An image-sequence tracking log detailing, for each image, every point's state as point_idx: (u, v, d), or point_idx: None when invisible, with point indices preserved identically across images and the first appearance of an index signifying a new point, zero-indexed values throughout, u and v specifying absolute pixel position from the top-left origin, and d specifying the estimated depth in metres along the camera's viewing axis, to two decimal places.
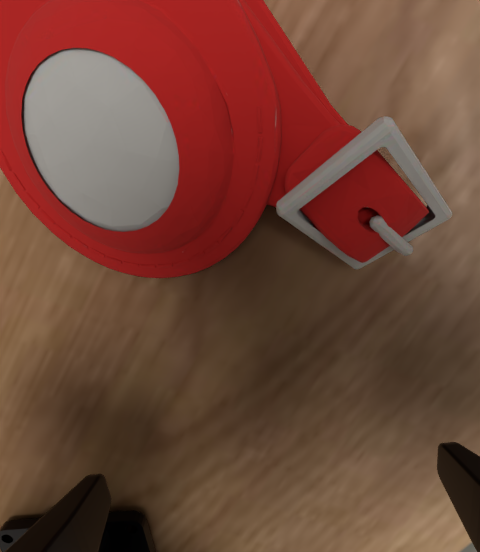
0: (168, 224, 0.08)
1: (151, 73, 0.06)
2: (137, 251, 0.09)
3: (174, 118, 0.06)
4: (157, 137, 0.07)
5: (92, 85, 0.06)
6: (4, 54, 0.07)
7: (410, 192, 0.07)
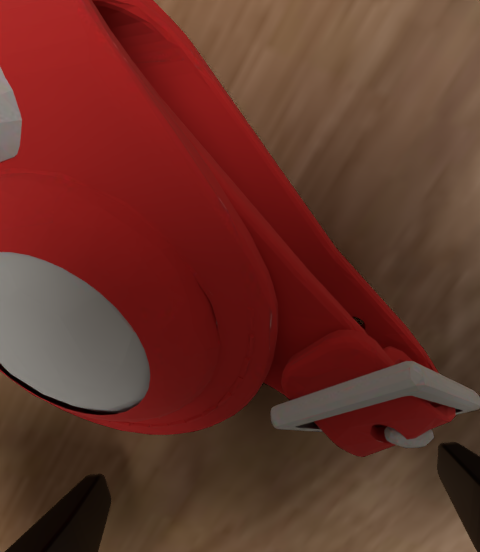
0: (140, 413, 0.06)
1: (111, 285, 0.05)
2: None
3: (142, 329, 0.05)
4: (122, 345, 0.05)
5: (37, 291, 0.05)
6: None
7: (437, 415, 0.05)
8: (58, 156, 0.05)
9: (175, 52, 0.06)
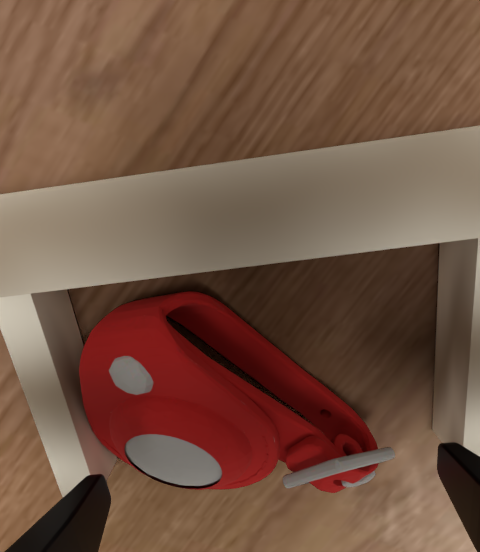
0: (217, 486, 0.12)
1: (201, 441, 0.11)
2: (197, 487, 0.13)
3: (216, 455, 0.11)
4: (207, 462, 0.11)
5: (168, 447, 0.11)
6: (107, 410, 0.12)
7: (361, 473, 0.11)
8: (169, 391, 0.11)
9: (204, 306, 0.12)
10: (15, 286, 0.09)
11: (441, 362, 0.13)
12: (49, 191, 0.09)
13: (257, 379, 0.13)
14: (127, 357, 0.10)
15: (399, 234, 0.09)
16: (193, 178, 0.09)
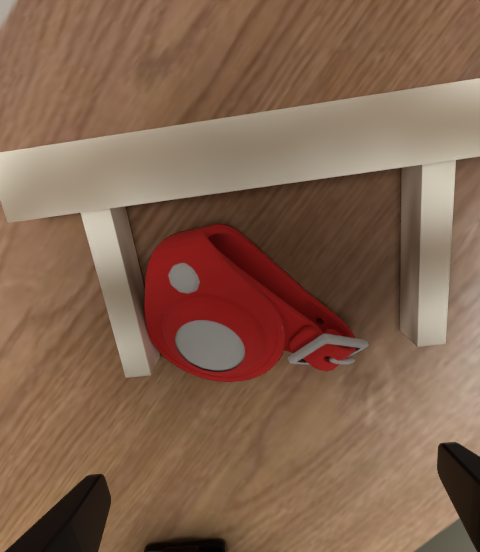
0: (240, 368, 0.17)
1: (231, 325, 0.15)
2: None
3: (241, 336, 0.16)
4: (235, 343, 0.16)
5: (208, 330, 0.16)
6: (162, 310, 0.17)
7: (343, 349, 0.16)
8: (210, 289, 0.15)
9: (232, 236, 0.17)
10: (107, 202, 0.14)
11: (404, 272, 0.17)
12: (134, 134, 0.13)
13: None
14: (182, 263, 0.15)
15: (365, 163, 0.13)
16: (229, 125, 0.13)
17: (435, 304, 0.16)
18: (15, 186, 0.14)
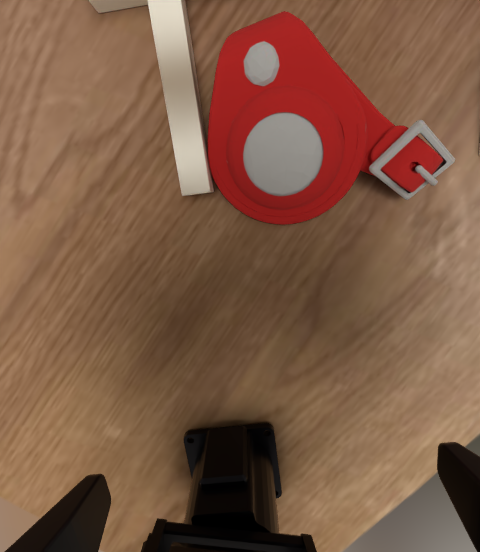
0: (313, 187, 0.15)
1: (313, 117, 0.14)
2: (290, 207, 0.17)
3: (322, 135, 0.14)
4: (313, 145, 0.14)
5: (285, 127, 0.14)
6: (229, 118, 0.15)
7: (433, 151, 0.14)
8: (290, 77, 0.14)
9: None
10: None
11: None
12: None
13: None
14: (261, 41, 0.13)
15: None
16: None
17: None
18: None
